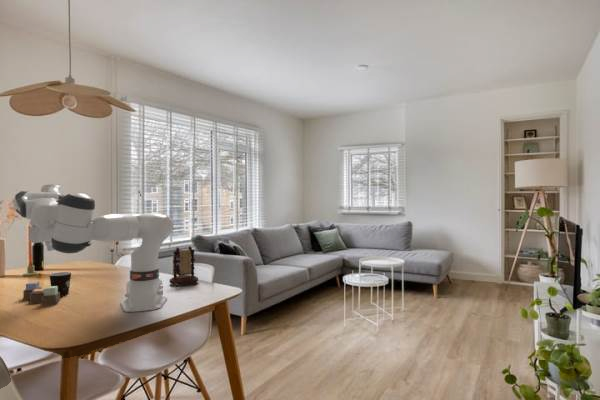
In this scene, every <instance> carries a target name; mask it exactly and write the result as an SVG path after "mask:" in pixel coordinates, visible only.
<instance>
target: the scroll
mask: <svg viewBox="0 0 600 400" xmlns="http://www.w3.org/2000/svg"><path fill="white" fill-rule="evenodd" d="M172 254H173V261H172V262H173V276H172V277H171V278H170V279H169V284H171V285H172V284H173V285H176V287H179V286H180V285H189V284H194V285H197V282H198V281H199V277H197V276H195V261H196V259H195V249H193V248H192V246H191V245H190V246H188V248H187V249H180V248H179V247H178V246H177V247H176V249H175V250H174V251H173V252H172ZM177 259H178V260H177Z"/></svg>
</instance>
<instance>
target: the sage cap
mask: <svg viewBox="0 0 600 400" xmlns="http://www.w3.org/2000/svg"><path fill="white" fill-rule="evenodd" d="M43 289H44V296H50V295H56V294H57V293H58V286H51V285H50V286H45V287H44V288H43Z"/></svg>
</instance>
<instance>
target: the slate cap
mask: <svg viewBox="0 0 600 400" xmlns="http://www.w3.org/2000/svg"><path fill="white" fill-rule="evenodd" d="M39 287H40V281H28V282H27V283H25V290H26V291H29V290H35V289H39Z"/></svg>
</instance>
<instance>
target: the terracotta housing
mask: <svg viewBox="0 0 600 400" xmlns="http://www.w3.org/2000/svg"><path fill="white" fill-rule="evenodd" d="M43 295H44V293H34V294H32V293H31V294H30V299H29V304H34V303H33V302H39V303H42V296H43Z"/></svg>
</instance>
